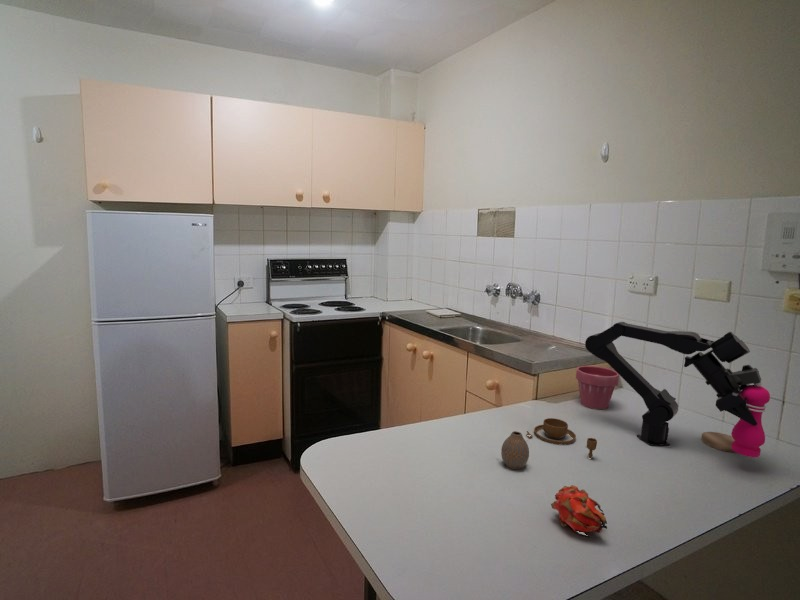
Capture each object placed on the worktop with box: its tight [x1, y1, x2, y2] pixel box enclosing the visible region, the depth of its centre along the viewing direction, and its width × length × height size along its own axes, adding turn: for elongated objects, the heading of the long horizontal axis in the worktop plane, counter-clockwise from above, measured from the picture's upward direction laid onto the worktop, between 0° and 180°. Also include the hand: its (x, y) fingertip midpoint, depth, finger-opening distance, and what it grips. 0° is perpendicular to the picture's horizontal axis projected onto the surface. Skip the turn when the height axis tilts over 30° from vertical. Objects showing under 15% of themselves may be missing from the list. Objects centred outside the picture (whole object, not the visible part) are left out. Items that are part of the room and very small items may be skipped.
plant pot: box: [575, 365, 620, 410], centre depth 169 cm, size 14×14×13 cm
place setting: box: [525, 417, 598, 458], centre depth 136 cm, size 18×20×6 cm
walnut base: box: [700, 431, 738, 454], centre depth 141 cm, size 11×11×2 cm
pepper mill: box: [730, 381, 771, 458], centre depth 124 cm, size 7×7×20 cm
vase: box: [500, 430, 530, 470], centre depth 120 cm, size 7×7×9 cm
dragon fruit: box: [550, 484, 608, 536], centre depth 95 cm, size 8×8×12 cm
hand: (756, 422), depth 124 cm, fingers closed on pepper mill, 5 cm apart
